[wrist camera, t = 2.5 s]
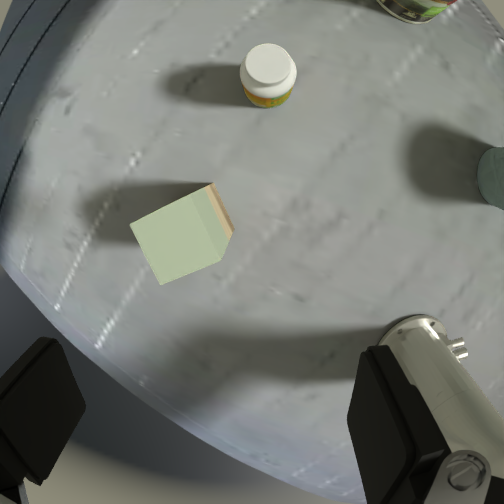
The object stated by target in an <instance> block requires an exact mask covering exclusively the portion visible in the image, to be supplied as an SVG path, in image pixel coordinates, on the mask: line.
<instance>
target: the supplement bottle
mask: <svg viewBox="0 0 504 504" xmlns="http://www.w3.org/2000/svg"><path fill="white" fill-rule="evenodd" d="M296 74H297V72H296V66H295V63H294V61H293V60H292V58H291V57H290V56H289V54H288V53H287V52H286V51H285V50H284V49H283V48H281V47H280V46H278V45H275V44H261V45H258V46H256V47H254V48H253V49H251V50H250V51H249V53H248V54H247V56H246V57H245V58H244V60H243V61H242V63H241V66H240V78H241V82H242V85H243V88H244V91H245V94H246V96H247V98H248V99H249V100H250V101H251V102H252V103H253V104H255V105H256V106H259V107H262V108H274V107H277V106H280V105H281V104H283V103H284V102H285V101H286V100H287V99H288V97H289V95H290V93H291V91H292V88H293V85H294V83H295V80H296Z"/></svg>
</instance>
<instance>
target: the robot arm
mask: <svg viewBox="0 0 504 504" xmlns="http://www.w3.org/2000/svg"><path fill="white" fill-rule="evenodd" d="M463 345H464V339H463V338H462V337H461V338H458V339H455V340H452V341H451V340H449V339H448V338H447V333H446V330H445V328H444V326H443V325H442V324H441V322H440V321H438V320H437V319H436V318H434V317H432V316H428V315H417V316H413V317H410V318H407V319H405V320H403V321H401V322H399V323H398V324H396V325H395V326H394V327H392V328H391V329H390V330H389V331H388V332H387V333H386V334H385V335H384V336H383V338H382V339H381V341H380V342H379V344H378V346H369V347H368V348H367V350H366V352H362V353H361V355H360V360H359V365H358V370H357V375H356V380H355V384H354V389H353V393H352V398H351V402H350V406H349V410H348V414H347V424H348V428H349V432H350V436H351V440H352V443H353V447H354V451H355V455H356V459H357V463H358V467H359V471H360V475H361V479H362V483H363V487H364V492H365V496H366V500H367V504H504V419H503V418H502V417H501V415H500V414H499V413H498V411H497V410H496V409H495V408H494V406H493V405H492V404H491V402H490V401H489V400H488V398H487V397H486V396H485V394H484V393H483V392H482V390H481V389H480V388H479V386H478V385H477V384H476V382H475V381H474V380H473V378H472V377H471V376H470V374H469V373H468V372H467V370H466V369H465V368H464V367H463V365H462V364H461V363H460V362H459V361H460V360H463V359H466V358H467V355H468V352H467V349H466V348H465V347H463V348H460V349H457V350H455V351H452V349H453V348H457V347H460V346H463ZM85 408H86V405H85V401H84V399H83V397H82V394H81V392H80V390H79V388H78V386H77V383H76V381H75V378H74V376H73V374H72V371H71V369H70V366H69V364H68V361H67V358H66V356H65V353H64V350H63V348H62V346H61V345H60V344H59V342H58V341H57V340H56V339H54V338H47V337H40V338H39V339H38V340H37V341H36V342H35V343H34V344H33V345H32V346H31V347H30V348H29V349H28V350H27V351H26V352H25V353H24V354H23V355H22V356H21V357H20V358H19V359H18V360H17V361H16V362H15V363H14V364H13V365H12V366H11V367H10V368H9V369H8V370H7V371H6V373H5V374H4V375H3V376H2V377H1V378H0V504H29V502H28V498H27V494H26V490H25V485H24V481H23V479H24V477H26V478H27V479H28V480H29V481H31V482H33V483H35V484H37V485H39V486H41V484H42V482H43V480H46V479H47V478H48V476H49V474H50V472H51V471H52V469H53V467H54V465H55V463H56V461H57V459H58V457H59V456H60V454H61V452H62V450H63V449H64V447H65V445H66V443H67V441H68V440H69V438H70V436H71V434H72V433H73V431H74V429H75V427H76V426H77V424H78V422H79V420H80V419H81V417H82V415H83V413H84V412H85Z"/></svg>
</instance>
